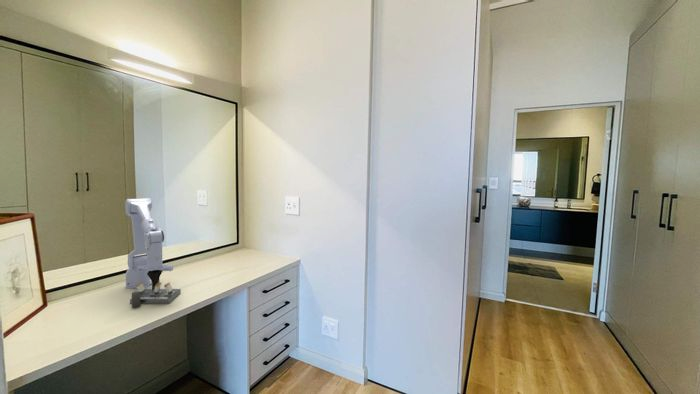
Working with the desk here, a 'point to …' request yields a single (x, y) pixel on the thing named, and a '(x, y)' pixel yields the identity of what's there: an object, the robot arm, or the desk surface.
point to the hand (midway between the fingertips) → (155, 285)
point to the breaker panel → (157, 296)
